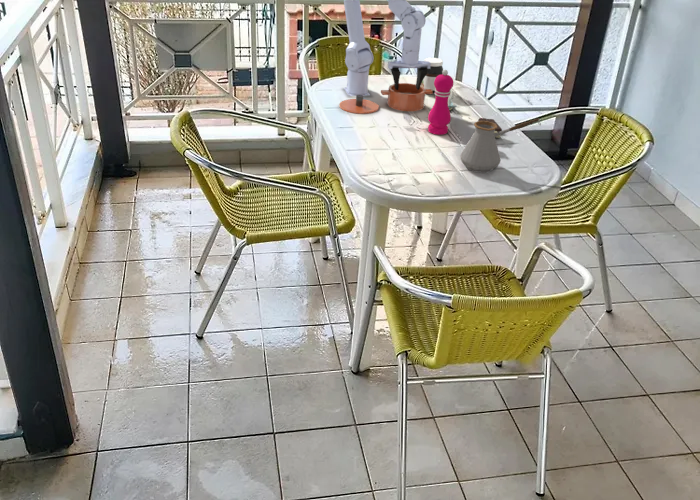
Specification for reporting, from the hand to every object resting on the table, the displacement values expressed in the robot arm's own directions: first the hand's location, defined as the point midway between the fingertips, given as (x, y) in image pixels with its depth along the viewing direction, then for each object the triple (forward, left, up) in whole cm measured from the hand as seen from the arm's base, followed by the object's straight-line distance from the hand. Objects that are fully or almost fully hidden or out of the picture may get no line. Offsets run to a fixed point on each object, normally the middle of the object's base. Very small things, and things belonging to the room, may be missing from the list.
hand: (407, 88), depth 234 cm
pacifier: (+3, +14, -6) cm, 16 cm away
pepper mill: (+24, +4, -6) cm, 25 cm away
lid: (+1, -17, -6) cm, 18 cm away
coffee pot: (+53, +12, -6) cm, 55 cm away
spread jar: (-15, +16, -6) cm, 23 cm away
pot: (0, 0, -6) cm, 6 cm away
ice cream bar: (+25, +22, -6) cm, 34 cm away
